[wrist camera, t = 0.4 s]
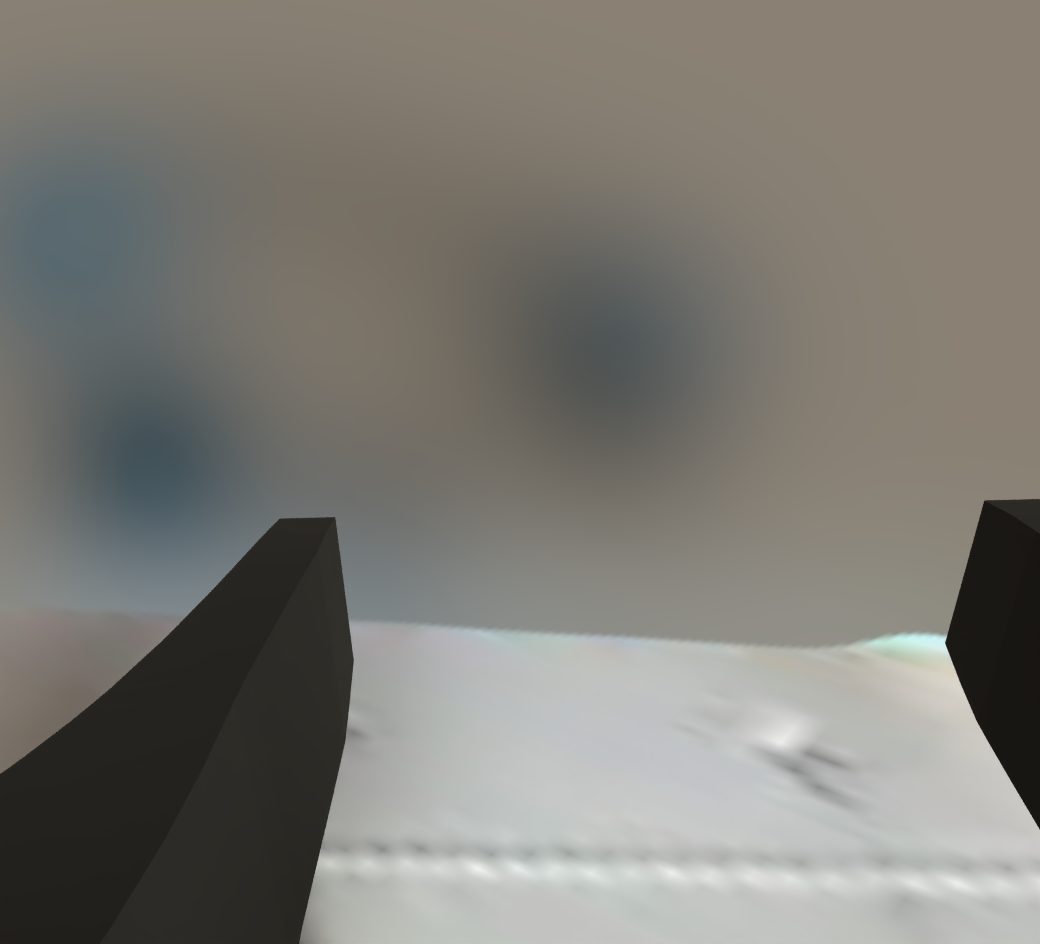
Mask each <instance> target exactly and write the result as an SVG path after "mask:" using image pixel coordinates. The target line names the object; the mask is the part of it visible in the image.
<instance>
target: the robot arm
mask: <svg viewBox="0 0 1040 944" xmlns="http://www.w3.org/2000/svg"><path fill="white" fill-rule="evenodd" d="M945 644H946V647H947V649H948V652H949V655H950V657H951V660H952V662H953V665H954V668H955V670H956V673H957V675H958V678H959V681H960V683H961V686H962V688H963V690H964V693H965V695H966V697H967V700H968V702H969V704H970V707H971V709H972V711H973V714H974V716H975V718H976V720H977V722H978V724H979V726H980V728H981V730H982V731H983V733H984V735H985V737H986V739H987V740H988V742H989V744H990V746H991V747H992V749H993V751H994V752H995V754H996V756H997V758H998V759H999V761H1000V763H1001V765H1002V766H1003V768H1004V770H1005V771H1006V773H1007V775H1008V777H1009V778H1010V780H1011V782H1012V784H1013V785H1014V787H1015V789H1016V790H1017V792H1018V794H1019V795H1020V797H1021V799H1022V800H1023V802H1024V804H1025V805H1026V807H1027V809H1028V810H1029V812H1030V814H1031V815H1032V817H1033V819H1034V821H1035V822H1036V824H1037V826H1038V827H1039V829H1040V500H1039V499H1028V500H1027V499H1026V500H987V501H984V504H983V507H982V511H981V515H980V518H979V522H978V526H977V529H976V533H975V537H974V540H973V544H972V547H971V551H970V555H969V558H968V563H967V566H966V569H965V573H964V577H963V581H962V584H961V588H960V591H959V595H958V599H957V602H956V606H955V610H954V613H953V617H952V620H951V624H950V628H949V631H948V635H947V638H946V642H945ZM353 661H354V660H353V652H352V644H351V636H350V629H349V621H348V613H347V606H346V598H345V590H344V582H343V574H342V566H341V559H340V551H339V543H338V535H337V528H336V520H335V517H331V518H330V517H329V518H328V517H327V518H290V519H289V518H288V519H279V520H278V521H277V522H276V523H275V524H274V525H273V526H272V527H271V528H270V529H269V530H268V531H267V532H266V533H265V534H264V535H263V536H262V537H261V538H260V539H259V540H258V542H257V543H256V544H255V545H254V546H253V547H252V548H251V549H250V550H249V551H248V552H247V553H246V555H245V556H244V557H243V558H242V559H241V560H240V561H239V562H238V563H237V564H236V565H235V567H234V568H233V569H232V570H231V571H230V572H229V573H228V574H227V575H226V576H225V577H224V578H223V579H222V580H221V581H220V583H219V584H218V585H217V586H216V587H215V588H214V589H213V590H212V591H211V592H210V593H209V594H208V595H207V596H206V597H205V598H204V599H203V600H202V601H201V602H200V603H199V604H198V605H197V606H196V607H195V608H194V609H193V610H192V611H191V612H190V613H189V615H188V616H187V617H186V618H185V619H184V620H183V621H182V622H181V623H180V624H179V625H178V626H177V627H176V628H175V629H174V630H173V631H172V632H171V633H170V634H169V635H168V636H167V637H166V638H165V639H164V640H163V641H162V642H161V643H159V644H158V645H157V646H156V647H155V648H154V649H153V650H152V651H151V652H150V653H149V654H147V655H146V656H145V657H144V658H143V659H142V660H141V661H140V662H139V663H138V664H137V665H136V666H134V667H133V668H132V669H131V670H130V671H129V672H128V673H127V674H126V675H125V676H124V677H122V678H121V679H120V680H119V681H118V682H117V683H116V684H115V685H114V686H113V687H112V688H110V689H109V690H108V691H107V692H106V693H105V694H103V695H102V696H101V697H100V698H99V699H97V700H96V701H95V702H94V703H93V704H91V705H90V706H89V707H88V708H87V709H85V710H84V711H83V712H82V713H80V714H79V715H78V716H77V717H76V718H74V719H73V720H72V721H71V722H69V723H68V724H67V725H65V726H64V727H63V728H61V729H60V730H59V731H58V732H56V733H55V734H54V735H52V736H51V737H50V738H48V739H47V740H46V741H44V742H43V743H42V744H41V745H39V746H38V747H37V748H35V749H34V750H33V751H31V752H30V753H29V754H27V755H26V756H25V757H23V758H22V759H21V760H19V761H18V762H17V763H15V764H14V765H12V766H11V767H10V768H8V769H7V770H6V771H4V772H3V773H1V774H0V944H299V940H300V935H301V930H302V925H303V921H304V917H305V912H306V908H307V904H308V900H309V895H310V891H311V887H312V883H313V878H314V874H315V870H316V866H317V861H318V857H319V853H320V848H321V844H322V840H323V836H324V831H325V827H326V823H327V819H328V814H329V810H330V806H331V802H332V797H333V793H334V788H335V784H336V780H337V775H338V771H339V767H340V762H341V758H342V753H343V749H344V744H345V738H346V730H347V721H348V712H349V703H350V692H351V682H352V672H353Z"/></svg>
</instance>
